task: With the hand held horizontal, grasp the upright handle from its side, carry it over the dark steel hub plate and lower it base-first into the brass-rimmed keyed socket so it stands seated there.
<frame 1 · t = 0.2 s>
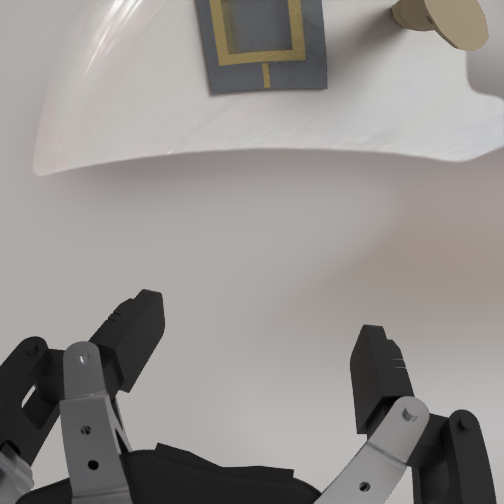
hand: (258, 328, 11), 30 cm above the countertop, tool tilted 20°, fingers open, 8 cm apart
hub plate: (261, 19, 26), on the countertop
handle: (402, 15, 21), on the countertop
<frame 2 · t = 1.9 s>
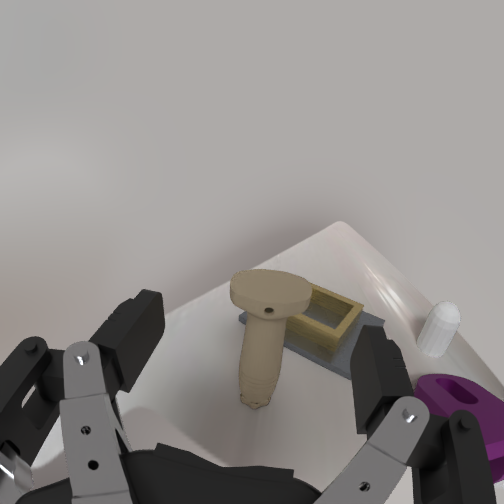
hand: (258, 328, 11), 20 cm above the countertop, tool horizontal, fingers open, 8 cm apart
hub plate: (315, 324, 42), on the countertop
handle: (254, 399, 29), on the countertop
mounting bracket: (444, 438, 23), on the countertop
capsule: (430, 347, 38), on the countertop
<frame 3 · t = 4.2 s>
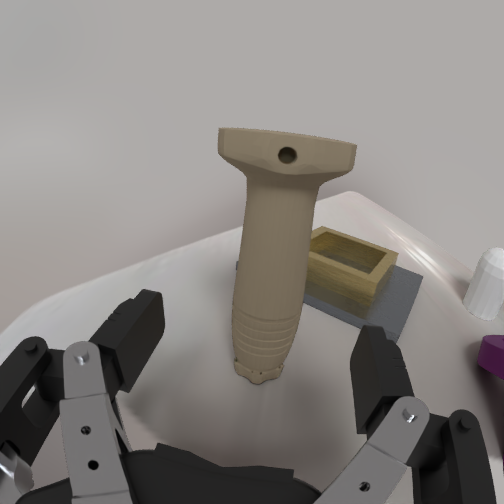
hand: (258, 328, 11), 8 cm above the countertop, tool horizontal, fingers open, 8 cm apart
hub plate: (338, 278, 32), on the countertop
handle: (257, 370, 19), on the countertop
capsule: (478, 309, 27), on the countertop
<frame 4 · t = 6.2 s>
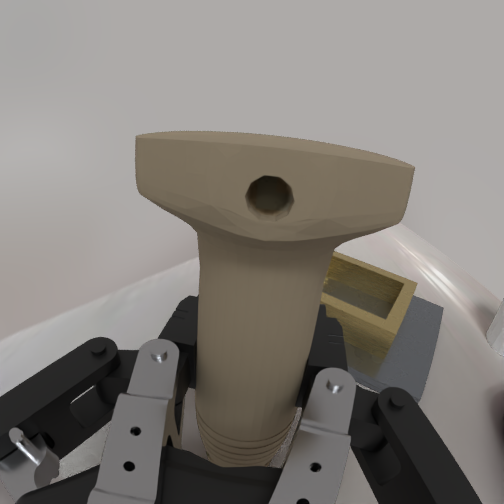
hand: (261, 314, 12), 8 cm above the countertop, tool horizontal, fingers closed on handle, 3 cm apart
hub plate: (345, 315, 26), on the countertop
handle: (238, 458, 13), on the countertop, touching gripper
capsule: (502, 344, 21), on the countertop
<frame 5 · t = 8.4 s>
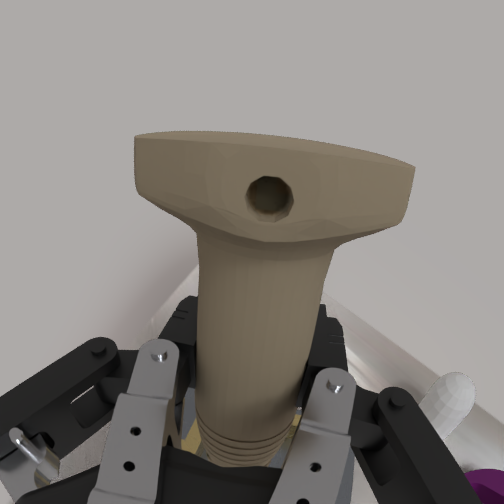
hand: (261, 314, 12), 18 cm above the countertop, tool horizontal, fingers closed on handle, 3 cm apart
hub plate: (248, 467, 20), on the countertop
handle: (238, 458, 13), point 10 cm above the countertop, touching gripper
capsule: (425, 428, 23), on the countertop
when the fingers open (10 cm above the countertop, at t = 10.4 s): handle drops 1 cm, resting on hub plate.
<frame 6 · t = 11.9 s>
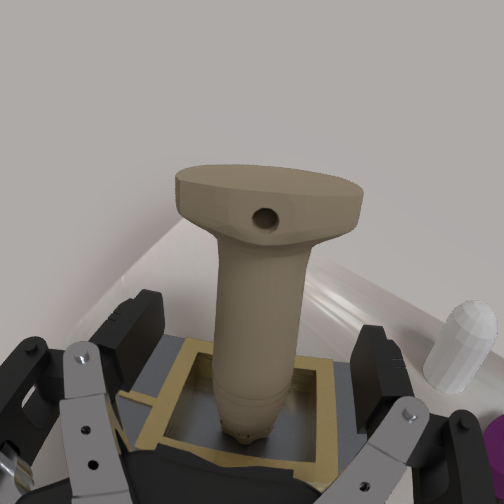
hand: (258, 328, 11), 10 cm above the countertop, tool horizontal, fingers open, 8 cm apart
hub plate: (244, 431, 17), on the countertop
handle: (246, 427, 16), point 1 cm above the countertop, touching hub plate
capsule: (444, 375, 21), on the countertop
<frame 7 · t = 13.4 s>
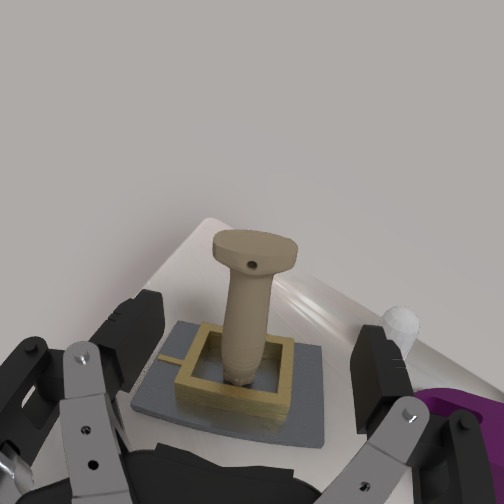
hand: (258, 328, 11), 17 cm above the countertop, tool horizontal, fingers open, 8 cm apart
hub plate: (237, 382, 29), on the countertop
handle: (238, 378, 28), point 1 cm above the countertop, touching hub plate
mounting bracket: (447, 459, 19), on the countertop
capsule: (383, 360, 34), on the countertop
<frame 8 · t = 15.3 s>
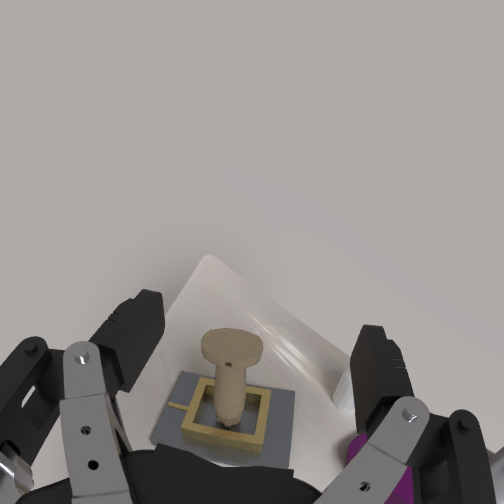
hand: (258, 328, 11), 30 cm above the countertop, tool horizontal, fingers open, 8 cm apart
hub plate: (228, 421, 36), on the countertop
handle: (228, 419, 36), point 1 cm above the countertop, touching hub plate
mounting bracket: (388, 485, 26), on the countertop
capsule: (347, 401, 41), on the countertop
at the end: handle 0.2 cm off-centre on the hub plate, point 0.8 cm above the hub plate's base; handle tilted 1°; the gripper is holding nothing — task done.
